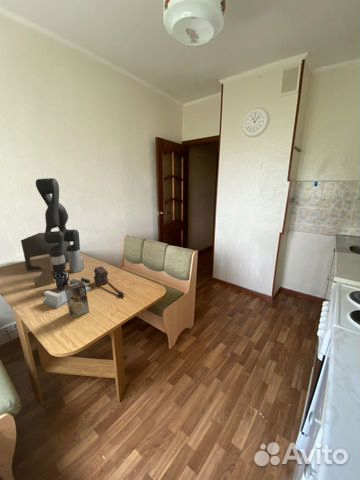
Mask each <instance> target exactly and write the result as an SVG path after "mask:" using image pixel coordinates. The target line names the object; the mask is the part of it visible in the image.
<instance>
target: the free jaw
mask: <svg viewBox="0 0 360 480" xmlns="http://www.w3.org/2000/svg"><path fill="white" fill-rule="evenodd" d="M81 281H83V283H84V284H85V287H86V286H87V285H89V284H91V279H88V278H85V277H81V278H80V280H79V279H76V278H72V279H69V284H73V283H77V282H81ZM86 284H87V285H86Z"/></svg>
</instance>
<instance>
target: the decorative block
mask: <svg viewBox="0 0 360 480" xmlns="http://www.w3.org/2000/svg"><path fill="white" fill-rule="evenodd" d="M29 259H30V264H31V266H37V267H40V268H41V269H42V270H41V273H40V274H39V275H38V276H37V277H34V278H33V282H34V286H35V288H36V289H37V288H39V287H44V286H47V285H51V284H54V283H55V284H56V281H55V279H54V277H53V274H52V271H53V269H52V264H51V258H50V255H49V254H46V255H40V256H35V257H30V258H29Z"/></svg>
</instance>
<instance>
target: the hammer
mask: <svg viewBox="0 0 360 480" xmlns="http://www.w3.org/2000/svg"><path fill="white" fill-rule="evenodd" d="M93 273H94V277H93V281H94V282H95V283H96V284H97V285H98V286H102V285H105V283H106V284H107V285H108V286H109V287H110V288H111V289H112V290H114V291H115V292H116V293H117V295H118V296H119V297H120V296H121V298H124V297H125V294H124V292H123V291H122V290H119V289H118V288H117V287H115V286H114V285H113V284H112V283H111V282H110V281H109V279H108V275H109V273H108V270H106V268H104V266H101V265H100V266H98V267H94V270H93Z"/></svg>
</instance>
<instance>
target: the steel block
mask: <svg viewBox="0 0 360 480" xmlns="http://www.w3.org/2000/svg"><path fill="white" fill-rule="evenodd" d="M63 277H64V276H63ZM63 277H62V278H63ZM54 280H55V285H56V286H55V287H56V290H59V291H60V292H62V291H64V290H65V288H64V287H63V281H62V279H61V277H59V276H56V275H55V279H54ZM69 284H70V283H69V281H67V285H69Z"/></svg>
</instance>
